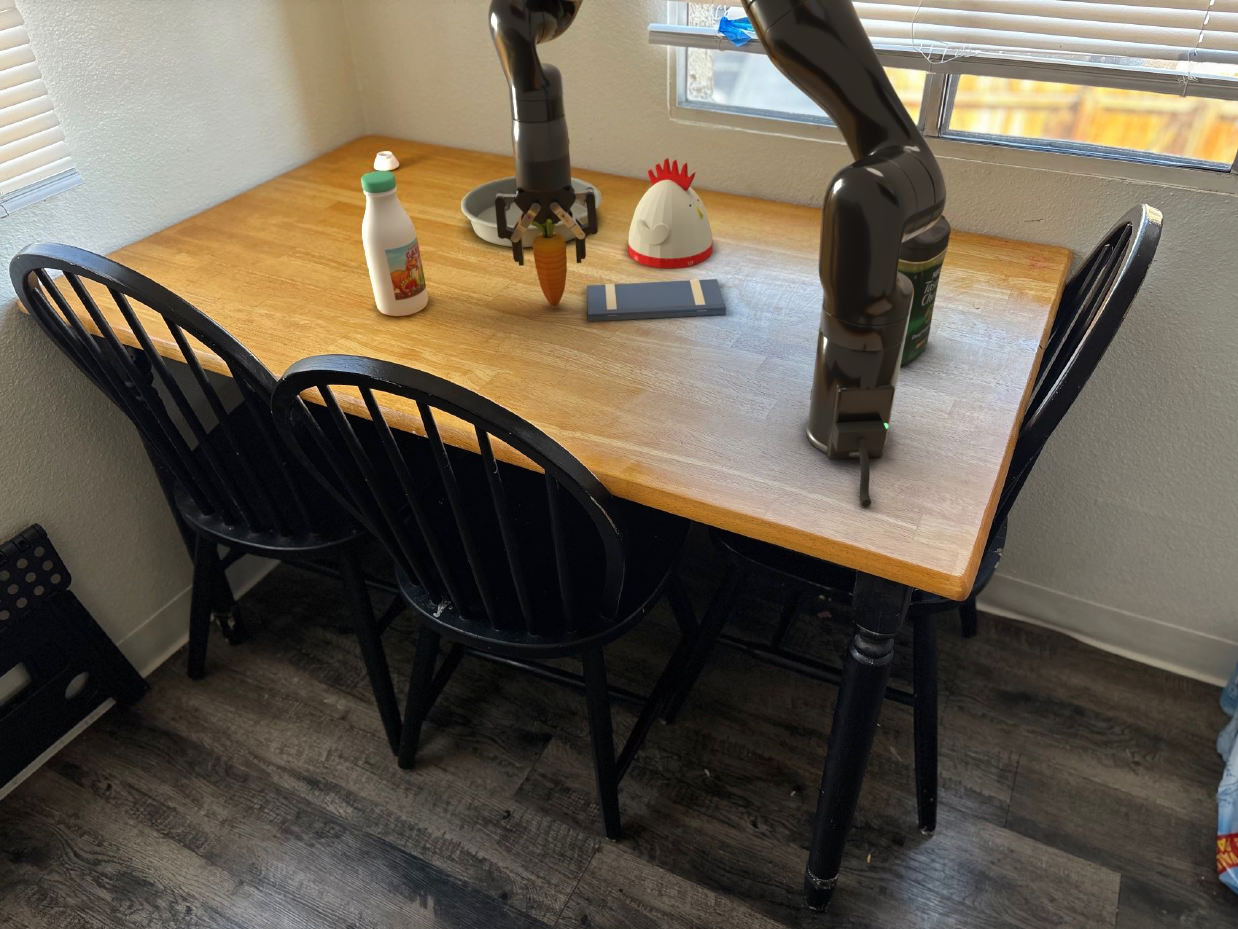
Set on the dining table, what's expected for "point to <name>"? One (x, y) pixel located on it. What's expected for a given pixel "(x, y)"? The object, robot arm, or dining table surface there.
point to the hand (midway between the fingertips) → (550, 262)
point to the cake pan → (514, 211)
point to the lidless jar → (385, 161)
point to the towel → (654, 300)
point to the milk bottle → (391, 248)
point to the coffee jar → (923, 281)
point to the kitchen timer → (670, 222)
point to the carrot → (550, 261)
